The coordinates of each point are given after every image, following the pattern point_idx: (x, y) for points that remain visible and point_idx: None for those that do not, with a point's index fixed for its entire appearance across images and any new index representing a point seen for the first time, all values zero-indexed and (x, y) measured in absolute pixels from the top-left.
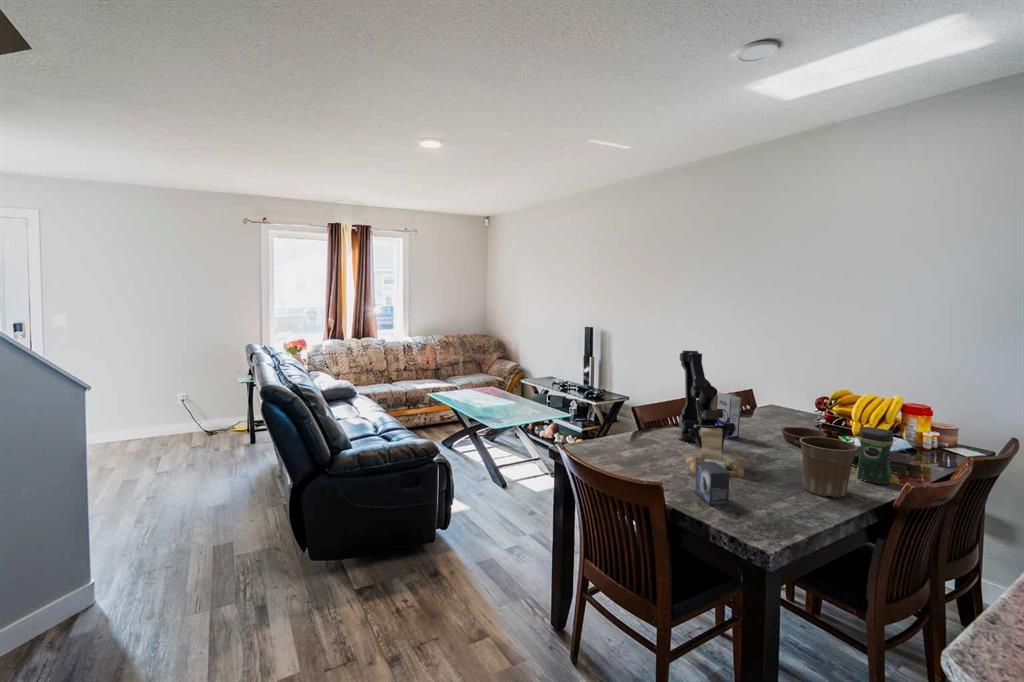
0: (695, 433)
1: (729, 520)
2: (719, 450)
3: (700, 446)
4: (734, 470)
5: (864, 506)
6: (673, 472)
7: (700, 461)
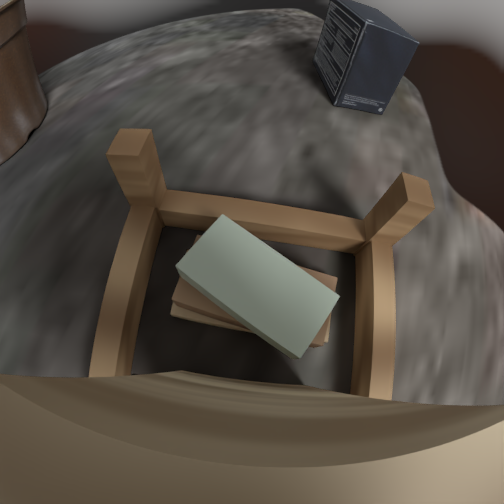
0: None
1: None
2: (172, 379)
3: None
4: (147, 254)
5: None
6: (443, 289)
7: (390, 188)
